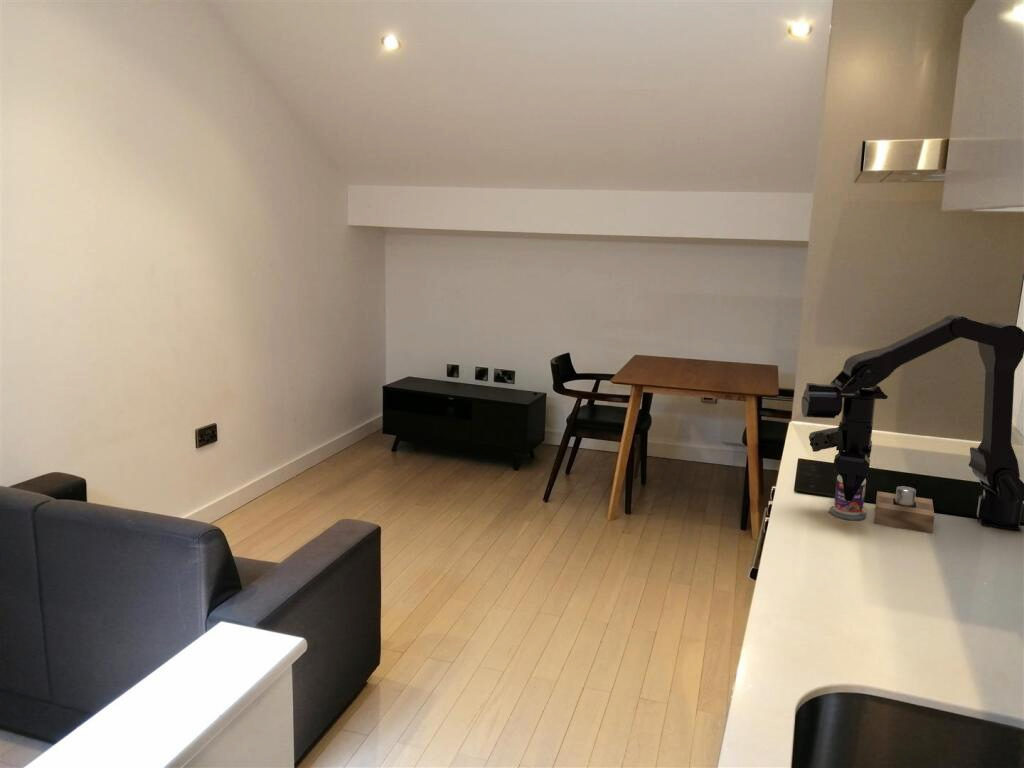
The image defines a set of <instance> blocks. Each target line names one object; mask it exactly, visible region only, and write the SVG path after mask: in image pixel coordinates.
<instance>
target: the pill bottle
mask: <svg viewBox="0 0 1024 768" xmlns="http://www.w3.org/2000/svg"><path fill="white" fill-rule="evenodd" d="M835 483H836V484H835V485H836V486H835V493H834V501H833V503H834V504H833V506H834V509H835V511H837V512H839V513H841V514H845V515H851V516H856V515H860V514H862V511H864V502H865V494H866V485H867V480H866V478H865V480H864V481H863V483H862V484H861V486H860V488H859V489H858V491H857V493H856V494H855V496H854V497H853V499H852V501H846V500H845V495H844V488H843V481H842V477H841V476H840V475H839V474H838V475H837V477H836V482H835Z"/></svg>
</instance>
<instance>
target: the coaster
mask: <svg viewBox="0 0 1024 768" xmlns="http://www.w3.org/2000/svg"><path fill="white" fill-rule="evenodd" d="M828 513H829V514H830V515H831V516H833V517H835V518H837V519H840V520H845V521H854V522H856V521H857V522H858V521H864V520H865V519H867V512H866V511H865V510H863V511H862V514H860V515H856V516H851V515H845V514H841V513H839V512H837V511H835V509H834V505H832V506H830V507H829V508H828Z"/></svg>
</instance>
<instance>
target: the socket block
mask: <svg viewBox="0 0 1024 768" xmlns="http://www.w3.org/2000/svg"><path fill="white" fill-rule="evenodd" d="M895 498H896V493H892V492H891V493H890V492H884V491H879V490H878V491H876V498H875V499H876V501H875V507H874V510H875V511H874V523H873V524H875V525H880V526H887V527H893V528H899V529H906V530H909V531H910V530H911V531H917V532H923V533H929V534H933V530H934V521H935V511H934V503H933V502H934V501H933V499H932V498H925V497H917V496H915V503H914V508H912V507H906V506H899V505H895Z"/></svg>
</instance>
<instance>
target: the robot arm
mask: <svg viewBox="0 0 1024 768" xmlns="http://www.w3.org/2000/svg"><path fill="white" fill-rule="evenodd" d="M960 338H961V339H962V338H963V339H967V340H970V341H973V342H977V347H978V354H979V356H980V359H981V361H982V364H983V366H984V369H985V373H984V375H985V377H984V396H983V397H984V400H983V401H984V403H983V423H982V426H983V427H982V440H981V442H980V444H979V445H978V446H977V447H974V446H971V447H970V448H969V455H970V460H969V461H970V462H969V463H968V467H970V469H972V471H971V472H972V473H973V475H974V476H975V477H976V478H978V479H979V483H980V486H982V487H984V488H983V492H982V495H979V496H978V503H977V504H978V505H977V510H976V517H977V519H979V521H980V524H981V525H982V526H985V527H986V526H988V527H992V528H993V527H994V528H1000V529H1005V530H1012V531H1018V532H1019V531H1021V529H1022V527H1021V525H1020V522H1021V516H1022V509H1023V502H1024V481H1022V479H1021V477H1020V476H1021V474H1020V467H1019V460H1018V458H1017V455H1016V453H1015V450H1014V448H1013V446H1012V434H1013V433H1012V432H1013V414H1014V412H1013V411H1014V396H1015V395H1014V392H1015V391H1014V390H1015V373H1016V370H1017V368H1018V366H1019V364H1020V363H1021V362H1022V360H1023V358H1024V330H1023V328H1021V327H1019V326H1018V325H1013V324H1011V323H1006V322H1001V321H990V322H988V323H983V322H980V321H975V320H972V319H969V318H968V317H965V316H963V315H959V314H949V315H946V316H945V317H944V318H942V319H941V320H939V321H937V322H935V323H933V324H931V325H928V326H927V327H924V328H923V329H920V330H918V331H916V332H915V333H912V334H910V335H908V336H906V337H904V338H903V339H900V340H897V341H896V342H894V343H892V344H890V345H887V346H885V347H881V348H875V349H872V350H867V351H864V352H860V353H858V354H854V355H851V356H849V357H848V358H846V360H845V361H844V364H843V367H842V370H841V371H840V372H839V373H838V374H837V375H836V376H835V378H834V379H832V380H831V382H830V384H821V383H814V382H807V383H806V387H805V389H804V392H803V396H801V414H802V417H803V418H818V419H822V418H823V419H835V418H836V416H837V417H838V416H840V414H841V418H840V421H839V425H838V427H831V428H826V429H825V428H824V429H820V430H816V431H812V432H810V433H809V435H808V440H809V446H810V447H811V450H812V452H813V453H817V452H820V451H822V450H827V449H832V448H835V450H836V451H838V452H837V453H836V454H835V455H834V459H833V470H834V472H835V473H837V474H838V475H840V476H841V477H842V481H843V488H844V495H845V500H846V501H852V499H853V497H854V496H855V494H856V493H857V491H858V489H859V488H860V486H861V484H862V483H863V481H864V480H865V479H866V478H867V477H868V476H869V474H870V465H871V459H870V458H871V453H872V445H873V441H872V435H873V425H874V414H875V408H876V407H875V405H876V400H887V399H888V394H885V392H884V391H883V390H882V389H881V386H879V384H880V383H881V382H883V381H884V380H886V379H887V378H889V377H890V376H891V375H892V373H893V374H894V372H895V370H896V369H898V368H899V367H901V366H903V365H905V364H907V363H909V362H912V361H913V360H915V359H917V358H919V357H921V356H924V355H926V354H928V353H930V352H932V351H934V350H936V349H939V348H940V347H942V346H945V345H947V344H948V343H951V342H952V341H955V340H957V339H960Z"/></svg>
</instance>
